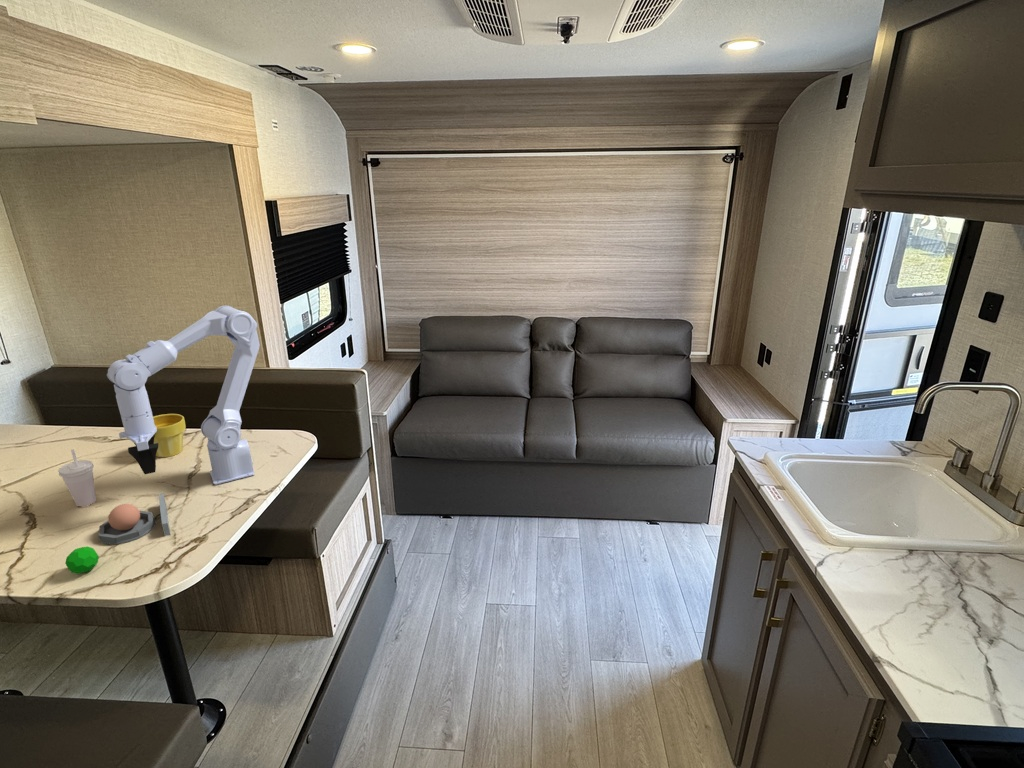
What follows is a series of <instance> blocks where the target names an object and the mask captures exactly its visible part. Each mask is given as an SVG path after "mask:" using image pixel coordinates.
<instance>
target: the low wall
mask: <svg viewBox="0 0 1024 768" xmlns="http://www.w3.org/2000/svg"><path fill="white" fill-rule="evenodd" d="M158 501H159V509H160V510H159V511H160V519H161V520H160V521H161V525H162V531H163V533H164V536H165V537H166V536H170V535H171V531H170V530H171V529H170V523H169V522H170V521H169V515H168V507H167V502H166V499H165V493H159V494H158Z"/></svg>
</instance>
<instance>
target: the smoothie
mask: <svg viewBox="0 0 1024 768" xmlns="http://www.w3.org/2000/svg"><path fill="white" fill-rule="evenodd" d="M70 452H71V455H72V458H73V462H69V463H67V464H66V463H65V464H64V465H62V466H60V468H59V469H58V470H57V471H58V475H59V476H60V477H62V479H63V481H64V484H65V485H66V487H67V489H68V491H69V493H70V496H71V497H72V499H73V501H74V503H75V505H76V507H78V506H85V507H88V506H91V505H93V504H94V503H96V502H97V497H96V496H97V495H96V487H95V479H94V471H93V470H94V466H95V465H94V463H93V461H91V460H87V459H83V460H78V459H77V454H76V451H75V449H71V450H70ZM95 501H96V502H95ZM92 503H93V504H92ZM90 504H91V505H90ZM87 505H88V506H87Z"/></svg>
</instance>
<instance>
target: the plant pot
mask: <svg viewBox="0 0 1024 768" xmlns="http://www.w3.org/2000/svg"><path fill="white" fill-rule="evenodd" d="M153 419H154V424H155V426H156V428H157V431H156V434H155V438H154V444H155V443H158V445H159V447H158V450H157V453H156V457H158V458H168V457H170V458H171V457H173V456H176V455H178V454H180V453H181V452H182V451H183V449H184V448H183V447H184V446H183V445H184V432H185V430H186V427H187V426H186V421H185V417H184V416H183V415H181V414H178V413H167V414H165V413H164V414H159V415H153Z"/></svg>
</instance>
